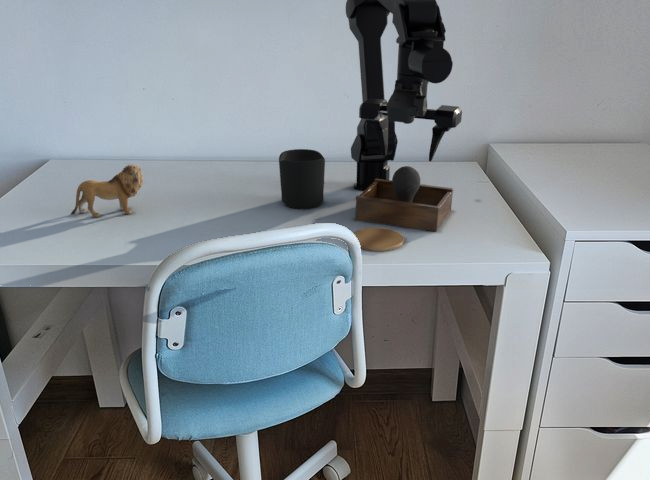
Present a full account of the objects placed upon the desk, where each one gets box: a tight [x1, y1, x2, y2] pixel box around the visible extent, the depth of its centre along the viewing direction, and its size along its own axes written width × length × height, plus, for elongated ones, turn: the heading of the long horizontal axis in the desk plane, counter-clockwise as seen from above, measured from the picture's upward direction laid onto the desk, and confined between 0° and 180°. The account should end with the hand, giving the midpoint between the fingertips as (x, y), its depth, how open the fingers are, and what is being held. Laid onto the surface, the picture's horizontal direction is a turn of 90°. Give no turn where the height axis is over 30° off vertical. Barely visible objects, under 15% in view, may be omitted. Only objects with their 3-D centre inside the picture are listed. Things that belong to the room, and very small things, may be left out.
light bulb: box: [391, 165, 421, 203], centre depth 139 cm, size 6×6×10 cm
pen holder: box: [278, 148, 326, 210], centre depth 145 cm, size 9×9×10 cm
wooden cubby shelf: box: [355, 179, 454, 232], centre depth 141 cm, size 17×13×5 cm
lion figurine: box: [70, 164, 144, 218], centre depth 137 cm, size 15×5×9 cm, turn 116°
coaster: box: [352, 227, 405, 252], centre depth 130 cm, size 10×10×1 cm
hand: (407, 158), depth 136 cm, fingers open, 9 cm apart
